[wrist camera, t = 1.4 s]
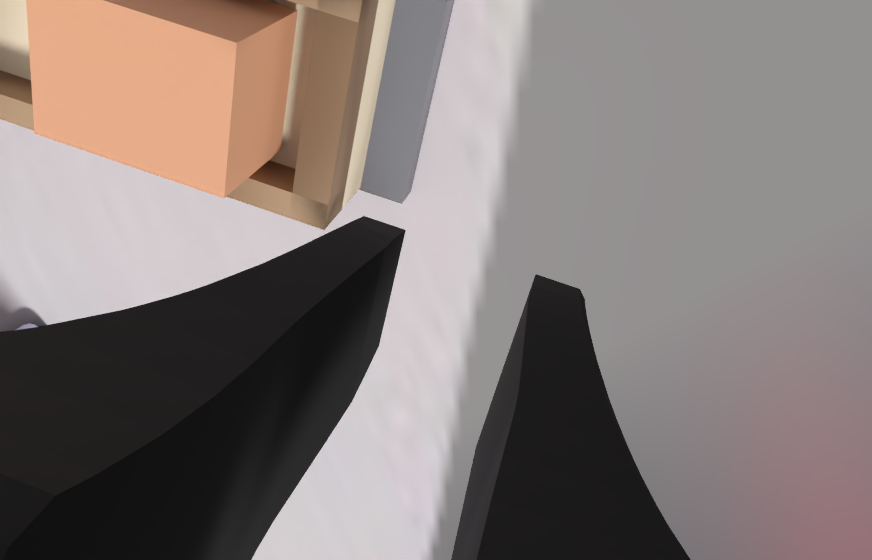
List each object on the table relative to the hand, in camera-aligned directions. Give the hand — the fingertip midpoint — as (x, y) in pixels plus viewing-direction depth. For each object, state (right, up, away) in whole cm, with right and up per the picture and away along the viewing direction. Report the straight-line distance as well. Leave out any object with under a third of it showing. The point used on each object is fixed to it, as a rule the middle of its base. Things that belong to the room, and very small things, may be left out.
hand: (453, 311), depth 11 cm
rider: (-5, +5, +5) cm, 9 cm away
